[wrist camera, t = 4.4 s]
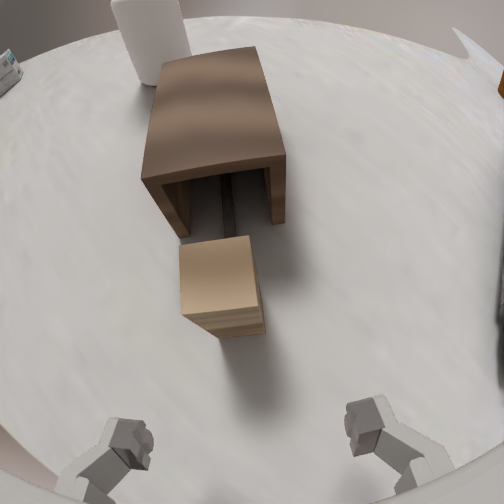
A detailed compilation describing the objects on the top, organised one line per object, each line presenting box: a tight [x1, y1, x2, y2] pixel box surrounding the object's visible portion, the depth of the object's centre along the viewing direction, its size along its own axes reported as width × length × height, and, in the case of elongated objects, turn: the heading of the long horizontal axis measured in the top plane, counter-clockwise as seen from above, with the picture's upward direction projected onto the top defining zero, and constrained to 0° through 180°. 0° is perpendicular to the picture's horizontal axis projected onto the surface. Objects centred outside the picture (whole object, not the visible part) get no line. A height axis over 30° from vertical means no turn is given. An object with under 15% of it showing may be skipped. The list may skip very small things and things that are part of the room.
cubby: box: [141, 46, 286, 238], centre depth 24 cm, size 15×9×8 cm, turn 7°
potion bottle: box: [110, 0, 192, 86], centre depth 28 cm, size 8×8×18 cm
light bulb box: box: [0, 49, 23, 96], centre depth 45 cm, size 11×7×11 cm, turn 121°
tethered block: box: [179, 173, 265, 338], centre depth 21 cm, size 21×5×9 cm, turn 7°
